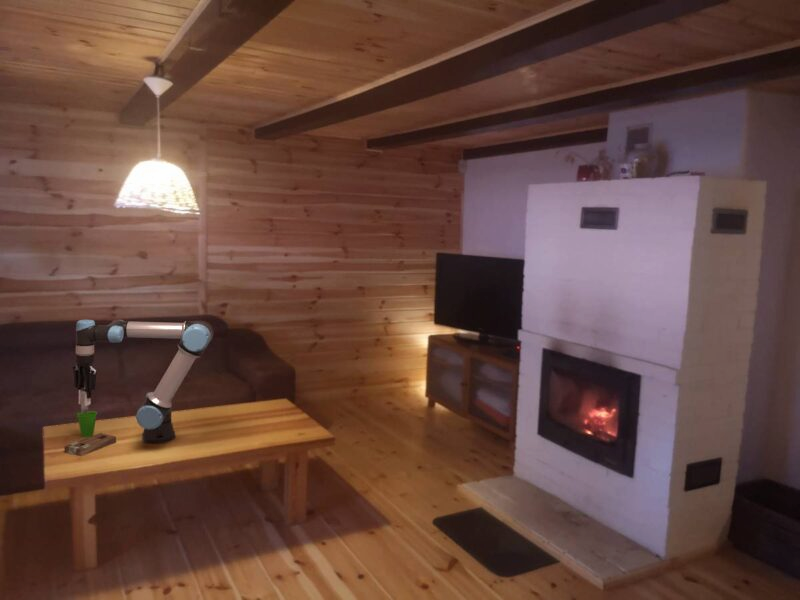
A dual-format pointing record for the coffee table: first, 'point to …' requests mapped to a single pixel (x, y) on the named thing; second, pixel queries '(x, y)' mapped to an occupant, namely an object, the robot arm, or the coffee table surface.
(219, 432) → the coffee table surface
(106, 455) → the coffee table surface
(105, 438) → the mount board
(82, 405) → the lock pin
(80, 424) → the cup
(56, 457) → the coffee table surface
